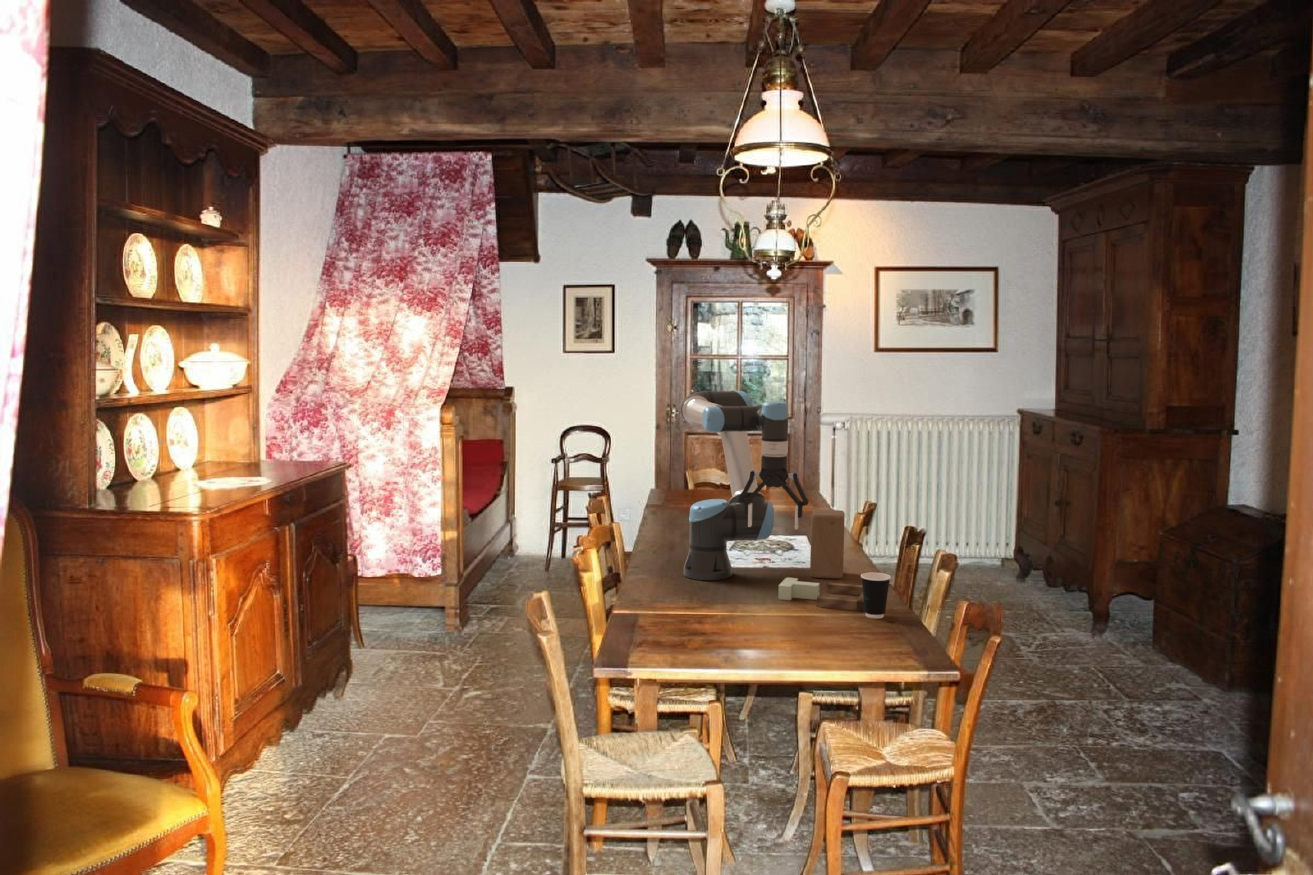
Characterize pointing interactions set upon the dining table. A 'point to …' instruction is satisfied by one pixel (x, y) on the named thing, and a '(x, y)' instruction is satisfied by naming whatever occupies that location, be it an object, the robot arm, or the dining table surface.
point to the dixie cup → (875, 593)
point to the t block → (798, 589)
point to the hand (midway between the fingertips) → (773, 527)
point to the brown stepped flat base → (842, 602)
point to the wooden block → (827, 544)
